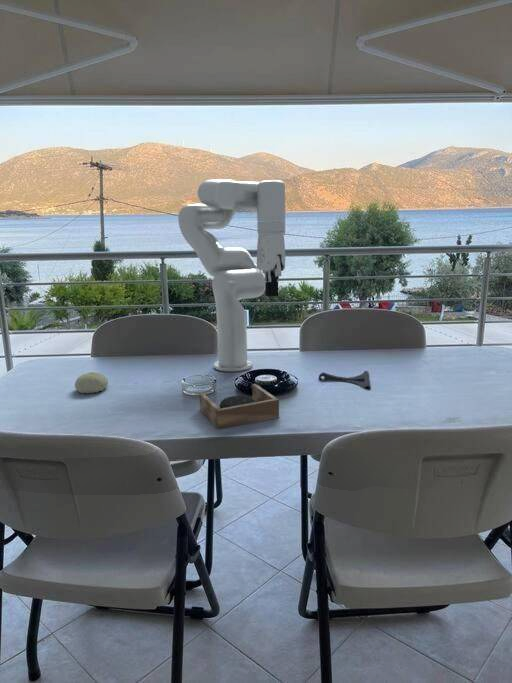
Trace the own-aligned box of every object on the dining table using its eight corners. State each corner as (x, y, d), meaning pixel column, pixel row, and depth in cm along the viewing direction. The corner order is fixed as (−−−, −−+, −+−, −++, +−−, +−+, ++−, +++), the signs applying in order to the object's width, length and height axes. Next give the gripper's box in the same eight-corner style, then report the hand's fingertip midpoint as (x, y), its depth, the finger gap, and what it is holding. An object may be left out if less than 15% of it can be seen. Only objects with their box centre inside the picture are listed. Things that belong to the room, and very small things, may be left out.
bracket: (320, 374, 152) (320, 365, 151) (368, 375, 149) (368, 367, 149) (317, 389, 138) (317, 380, 138) (370, 391, 136) (370, 382, 135)
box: (200, 409, 123) (199, 393, 122) (256, 399, 129) (255, 383, 128) (218, 429, 111) (217, 410, 110) (279, 417, 117) (278, 399, 116)
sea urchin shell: (116, 379, 143) (102, 366, 137) (106, 403, 140) (92, 391, 133) (90, 376, 146) (76, 363, 140) (80, 400, 142) (64, 388, 136)
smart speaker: (260, 421, 115) (260, 405, 115) (223, 425, 113) (223, 409, 112) (251, 408, 124) (251, 393, 123) (217, 411, 122) (216, 396, 121)
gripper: (248, 228, 136) (250, 293, 141) (269, 229, 123) (269, 300, 127) (273, 228, 139) (273, 291, 143) (295, 228, 125) (295, 298, 130)
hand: (271, 295), depth 135 cm, fingers closed
